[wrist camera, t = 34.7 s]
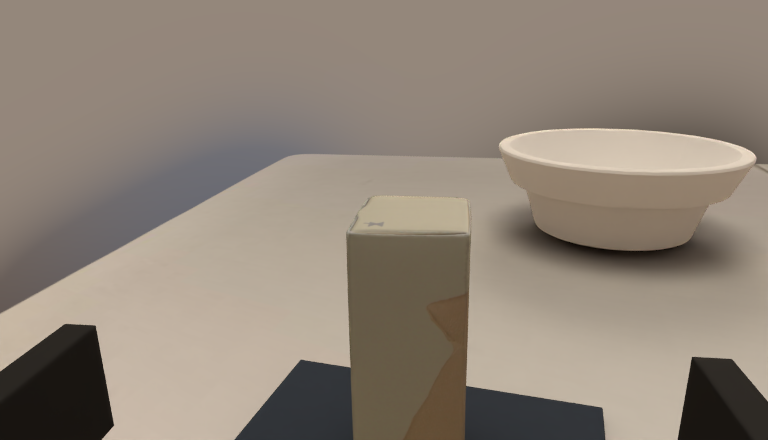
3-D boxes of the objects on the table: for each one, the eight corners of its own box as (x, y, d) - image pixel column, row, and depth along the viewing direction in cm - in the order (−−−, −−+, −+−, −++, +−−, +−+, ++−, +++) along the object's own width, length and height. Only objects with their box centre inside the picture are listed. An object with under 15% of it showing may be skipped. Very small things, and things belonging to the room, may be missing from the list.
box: (463, 511, 22) (472, 235, 18) (351, 501, 22) (340, 232, 19) (463, 423, 27) (470, 193, 23) (372, 417, 27) (366, 191, 24)
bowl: (452, 219, 58) (454, 138, 56) (605, 193, 67) (613, 122, 65) (614, 297, 40) (627, 184, 38) (795, 248, 49) (815, 153, 47)
